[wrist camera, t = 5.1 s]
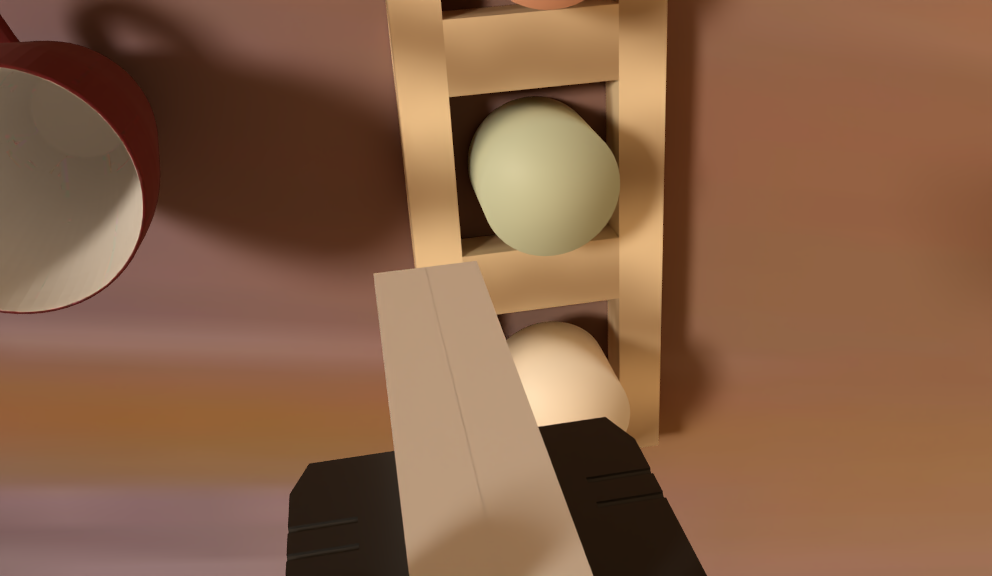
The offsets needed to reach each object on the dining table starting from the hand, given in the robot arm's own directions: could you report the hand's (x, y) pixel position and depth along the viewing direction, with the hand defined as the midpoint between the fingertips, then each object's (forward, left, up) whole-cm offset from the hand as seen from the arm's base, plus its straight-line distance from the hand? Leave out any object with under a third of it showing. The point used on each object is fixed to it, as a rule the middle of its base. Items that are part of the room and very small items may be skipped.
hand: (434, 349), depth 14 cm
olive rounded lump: (+6, +7, -26) cm, 27 cm away
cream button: (+16, +7, -24) cm, 30 cm away
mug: (+1, -12, -27) cm, 29 cm away
